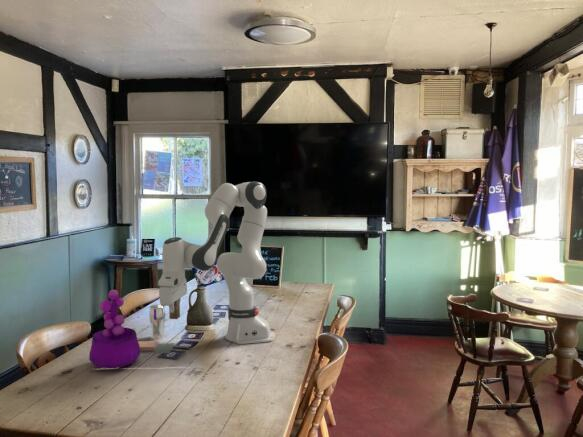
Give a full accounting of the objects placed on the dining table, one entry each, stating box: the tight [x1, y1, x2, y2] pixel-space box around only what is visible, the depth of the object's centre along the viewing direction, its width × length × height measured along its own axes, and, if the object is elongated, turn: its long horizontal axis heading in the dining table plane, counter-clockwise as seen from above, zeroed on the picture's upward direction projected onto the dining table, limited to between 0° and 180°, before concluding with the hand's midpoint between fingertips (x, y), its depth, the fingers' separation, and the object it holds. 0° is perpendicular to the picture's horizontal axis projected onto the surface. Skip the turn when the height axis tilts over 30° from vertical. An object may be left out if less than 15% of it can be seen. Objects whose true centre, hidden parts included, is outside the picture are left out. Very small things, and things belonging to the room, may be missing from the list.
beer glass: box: [148, 304, 166, 341], centre depth 218 cm, size 7×7×15 cm
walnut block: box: [168, 298, 181, 320], centre depth 198 cm, size 3×3×8 cm
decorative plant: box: [88, 289, 141, 369], centre depth 188 cm, size 19×18×30 cm
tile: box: [138, 340, 159, 351], centre depth 205 cm, size 2×7×9 cm
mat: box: [140, 342, 175, 355], centre depth 205 cm, size 18×12×1 cm, turn 93°
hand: (174, 310), depth 198 cm, fingers closed on walnut block, 3 cm apart
